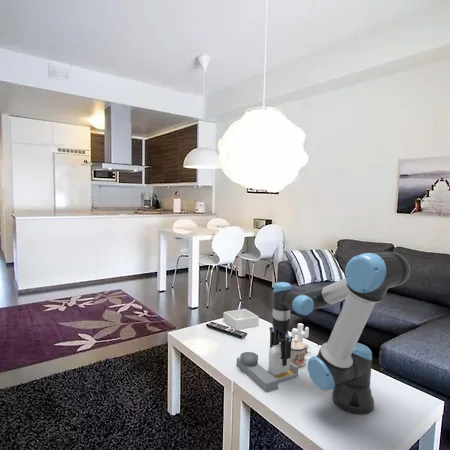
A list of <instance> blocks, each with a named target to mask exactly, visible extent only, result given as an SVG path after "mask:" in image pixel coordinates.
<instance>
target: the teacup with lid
mask: <svg viewBox="0 0 450 450" xmlns="http://www.w3.org/2000/svg"><path fill="white" fill-rule="evenodd" d="M303 343H304V342H303V341H302V342H299V341H298V340H297V338H293V340H292V342H291V358H290V362H292V363H293V364H294V365H296V366H297V367H298V368H302V367H303V366H305V359H306V358H305V357H306V355H307V354H308V349H307V347H306V346H305V345H304V344H305V343H304V344H303Z"/></svg>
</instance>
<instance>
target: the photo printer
mask: <svg viewBox="0 0 450 450" xmlns="http://www.w3.org/2000/svg"><path fill="white" fill-rule="evenodd" d="M272 346H273V345H272ZM280 357H282V356H281V345H280V344H278V345H275V346H273V347H272V348H270V347H269V351H268V370H269V373H270V374H271V375H277V374H281V373H280ZM289 370H290V358H289V359H287V365H286V372H287V371H289ZM282 373H284V372H282Z"/></svg>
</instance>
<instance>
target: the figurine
mask: <svg viewBox="0 0 450 450" xmlns="http://www.w3.org/2000/svg"><path fill="white" fill-rule="evenodd" d="M309 334H310V329H309V327H308V326H305V328H304V324H303V323H297V328H295V327H294V328H292V329H291V337H292V338H293V339H297V340H298V341H299V342H302V343H303V344H304V345H305V346H306V347H307V350H308V349H309V348H310V345H309V344H307V343H304V342H303V339H304V338H305V339H307V338H309Z"/></svg>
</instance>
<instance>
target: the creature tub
mask: <svg viewBox="0 0 450 450" xmlns="http://www.w3.org/2000/svg"><path fill="white" fill-rule="evenodd" d="M222 316H223V317H222V321H223V323H225V324H227V326H229V327H230V328H232V329H233V328H234V329H237V330H236V331H239V330H245V329H250V328H257V327H259V318H260V316H258V315H257V314H255V313H254V312H252V311H249V310H248V309H246V308H240V309H235V310H228V311H224V312H223V315H222ZM234 329H233V330H234Z"/></svg>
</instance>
